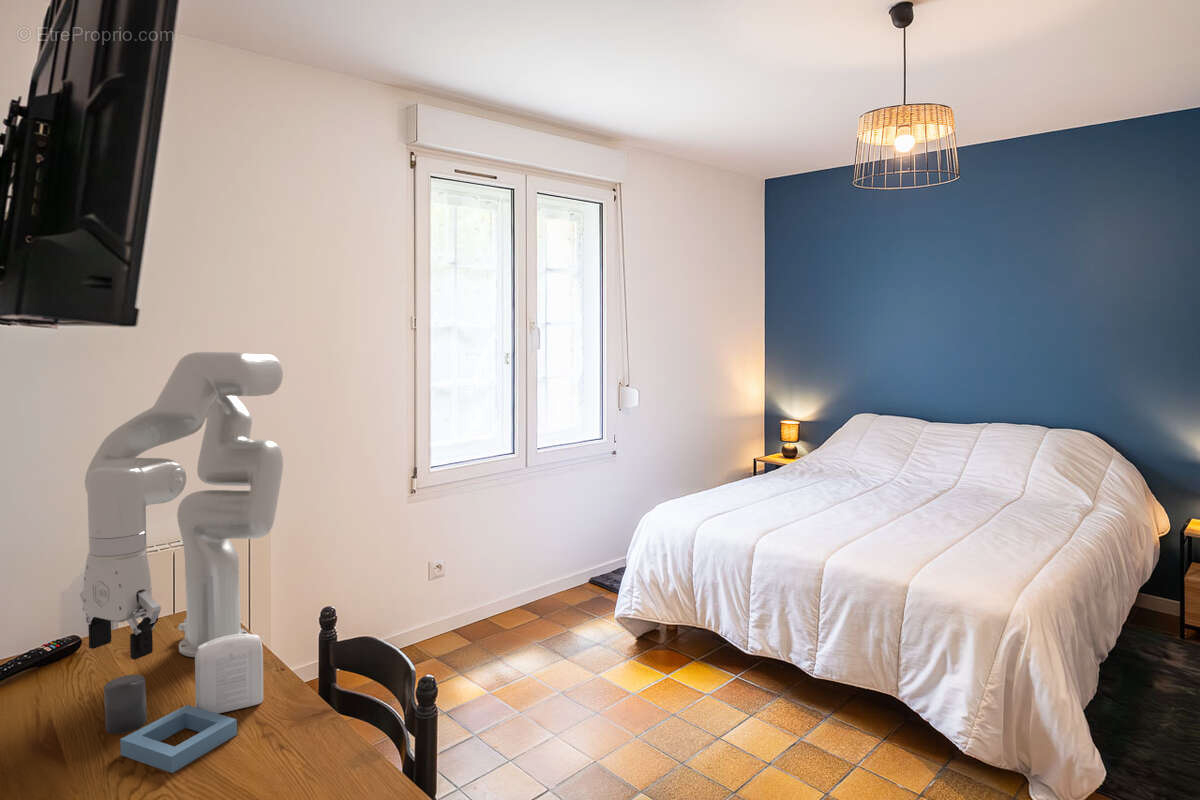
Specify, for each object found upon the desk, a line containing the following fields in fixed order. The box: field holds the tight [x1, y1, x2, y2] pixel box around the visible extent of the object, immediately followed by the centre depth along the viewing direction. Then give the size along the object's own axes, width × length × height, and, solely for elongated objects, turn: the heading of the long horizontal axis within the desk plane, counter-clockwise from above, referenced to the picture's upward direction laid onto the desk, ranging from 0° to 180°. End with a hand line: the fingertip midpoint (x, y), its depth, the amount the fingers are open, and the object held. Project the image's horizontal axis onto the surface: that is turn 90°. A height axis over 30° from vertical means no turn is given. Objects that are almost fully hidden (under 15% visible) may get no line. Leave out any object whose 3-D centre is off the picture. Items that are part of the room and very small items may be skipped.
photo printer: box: [194, 633, 264, 714], centre depth 121 cm, size 10×4×12 cm, turn 123°
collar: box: [119, 704, 238, 774], centre depth 110 cm, size 11×11×2 cm
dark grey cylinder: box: [103, 674, 148, 735], centre depth 116 cm, size 6×6×7 cm
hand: (120, 650), depth 114 cm, fingers open, 9 cm apart
